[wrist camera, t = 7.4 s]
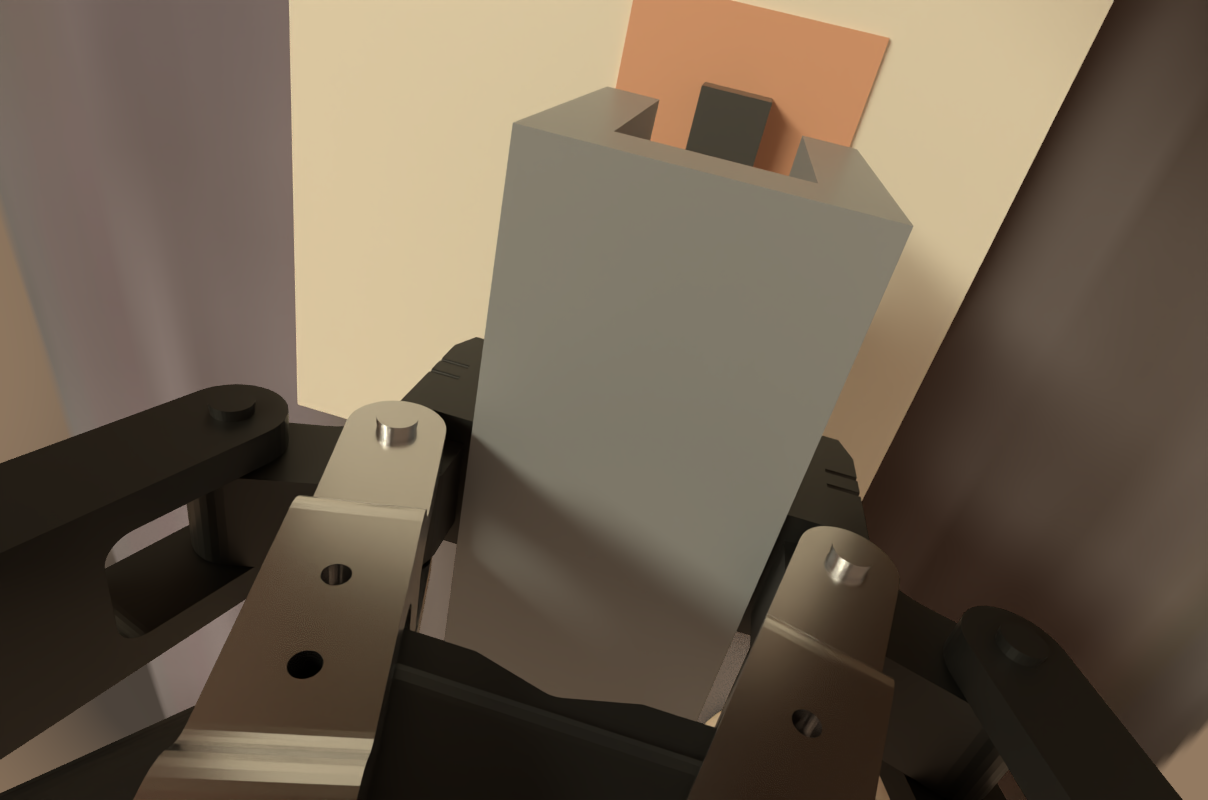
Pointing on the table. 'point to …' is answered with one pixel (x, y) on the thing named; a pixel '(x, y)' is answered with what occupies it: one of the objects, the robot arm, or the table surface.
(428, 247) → the board
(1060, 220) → the table surface
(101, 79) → the table surface
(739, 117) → the pin header
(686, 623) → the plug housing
